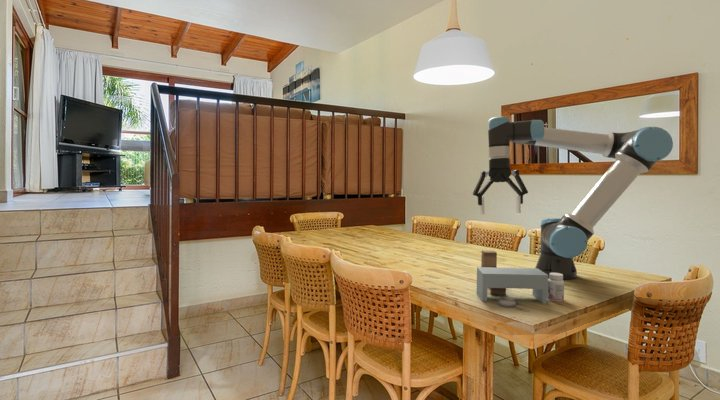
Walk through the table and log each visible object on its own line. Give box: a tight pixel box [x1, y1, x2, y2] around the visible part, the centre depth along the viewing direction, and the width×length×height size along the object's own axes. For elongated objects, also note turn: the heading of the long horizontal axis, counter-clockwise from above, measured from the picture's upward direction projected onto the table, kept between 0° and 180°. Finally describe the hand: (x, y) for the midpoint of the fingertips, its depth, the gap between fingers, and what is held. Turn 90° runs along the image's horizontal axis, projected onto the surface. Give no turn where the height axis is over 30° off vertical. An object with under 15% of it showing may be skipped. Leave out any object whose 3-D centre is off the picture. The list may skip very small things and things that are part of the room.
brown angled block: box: [480, 249, 507, 296], centre depth 138 cm, size 17×5×12 cm, turn 174°
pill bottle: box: [547, 273, 565, 302], centre depth 125 cm, size 5×5×8 cm
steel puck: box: [498, 296, 517, 309], centre depth 120 cm, size 5×5×2 cm
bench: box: [476, 266, 549, 304], centre depth 126 cm, size 20×9×9 cm, turn 84°
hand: (500, 213), depth 148 cm, fingers open, 13 cm apart
